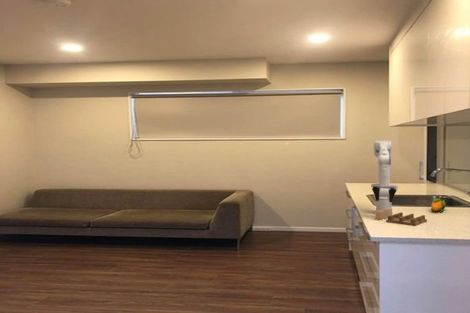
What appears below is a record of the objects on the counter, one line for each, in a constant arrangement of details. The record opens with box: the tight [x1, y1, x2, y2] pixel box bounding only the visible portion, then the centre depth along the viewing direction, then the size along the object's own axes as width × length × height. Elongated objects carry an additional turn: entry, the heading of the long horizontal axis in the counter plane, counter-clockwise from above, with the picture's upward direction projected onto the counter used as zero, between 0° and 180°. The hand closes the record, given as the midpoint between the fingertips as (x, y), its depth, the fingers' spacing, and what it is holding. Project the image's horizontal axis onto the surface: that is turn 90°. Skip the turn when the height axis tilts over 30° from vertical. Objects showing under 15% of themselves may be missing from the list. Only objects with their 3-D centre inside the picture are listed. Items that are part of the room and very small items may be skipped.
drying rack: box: [385, 212, 428, 227], centre depth 229 cm, size 16×15×3 cm
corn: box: [430, 198, 446, 213], centre depth 260 cm, size 7×8×20 cm
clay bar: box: [374, 208, 393, 221], centre depth 239 cm, size 14×3×5 cm, turn 136°
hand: (384, 201), depth 238 cm, fingers open, 7 cm apart
